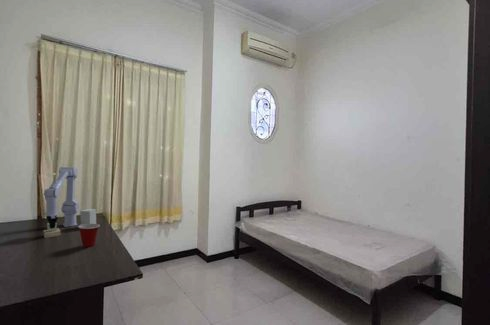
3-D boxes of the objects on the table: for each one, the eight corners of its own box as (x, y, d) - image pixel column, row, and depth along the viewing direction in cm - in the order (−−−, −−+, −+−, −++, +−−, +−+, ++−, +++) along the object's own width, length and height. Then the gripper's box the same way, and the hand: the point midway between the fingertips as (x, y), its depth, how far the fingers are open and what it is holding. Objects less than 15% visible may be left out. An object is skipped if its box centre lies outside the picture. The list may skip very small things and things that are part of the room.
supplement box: (96, 225, 188) (96, 209, 188) (89, 228, 181) (89, 211, 181) (87, 225, 189) (87, 208, 189) (80, 228, 182) (79, 210, 182)
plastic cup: (102, 245, 148) (102, 225, 147) (80, 250, 140) (80, 228, 140) (96, 241, 155) (96, 221, 155) (76, 245, 147) (76, 225, 147)
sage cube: (47, 230, 165) (47, 223, 165) (55, 228, 168) (55, 222, 168) (48, 231, 162) (48, 224, 162) (56, 230, 165) (56, 223, 165)
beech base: (43, 235, 165) (43, 230, 165) (58, 232, 171) (58, 228, 171) (44, 238, 159) (44, 233, 159) (60, 235, 165) (60, 230, 165)
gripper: (43, 205, 167) (43, 226, 168) (45, 209, 157) (45, 231, 157) (56, 204, 172) (56, 224, 172) (59, 207, 161) (59, 228, 162)
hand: (52, 227), depth 165 cm, fingers closed on sage cube, 4 cm apart
